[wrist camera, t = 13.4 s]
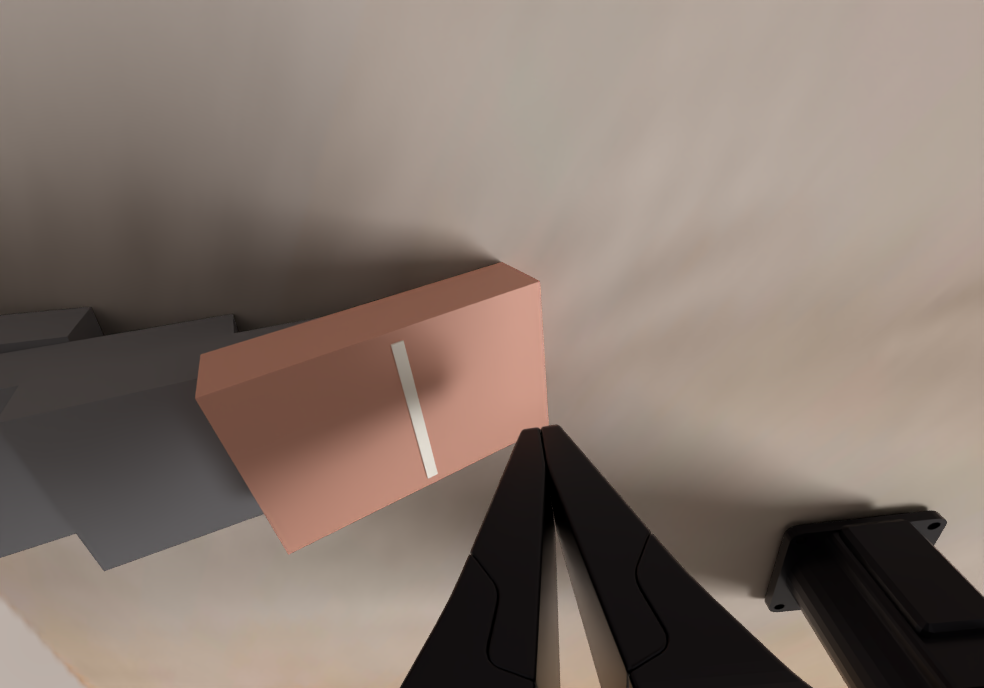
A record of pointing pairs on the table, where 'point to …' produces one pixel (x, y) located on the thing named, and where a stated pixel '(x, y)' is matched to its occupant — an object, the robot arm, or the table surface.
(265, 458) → the domino
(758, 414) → the table surface
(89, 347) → the domino
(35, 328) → the domino
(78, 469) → the domino
